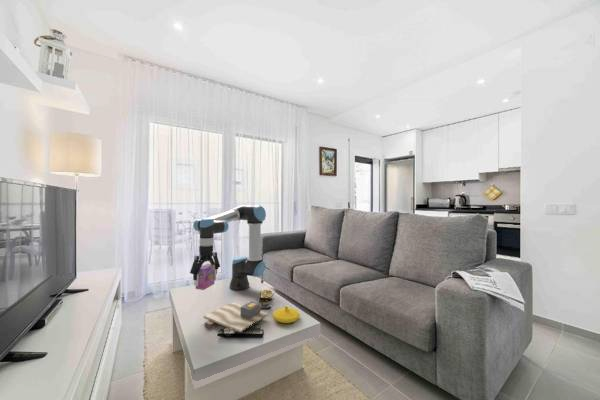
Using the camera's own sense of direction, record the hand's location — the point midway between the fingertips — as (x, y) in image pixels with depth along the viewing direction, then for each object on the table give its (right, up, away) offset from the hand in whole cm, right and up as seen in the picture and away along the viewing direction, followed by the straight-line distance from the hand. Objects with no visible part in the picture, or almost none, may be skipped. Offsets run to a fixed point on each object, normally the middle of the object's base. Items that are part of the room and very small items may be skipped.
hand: (205, 282), depth 142 cm
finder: (+26, -17, -2) cm, 32 cm away
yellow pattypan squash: (+47, -22, 0) cm, 52 cm away
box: (0, -2, 0) cm, 2 cm away
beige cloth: (+18, -21, -4) cm, 28 cm away
